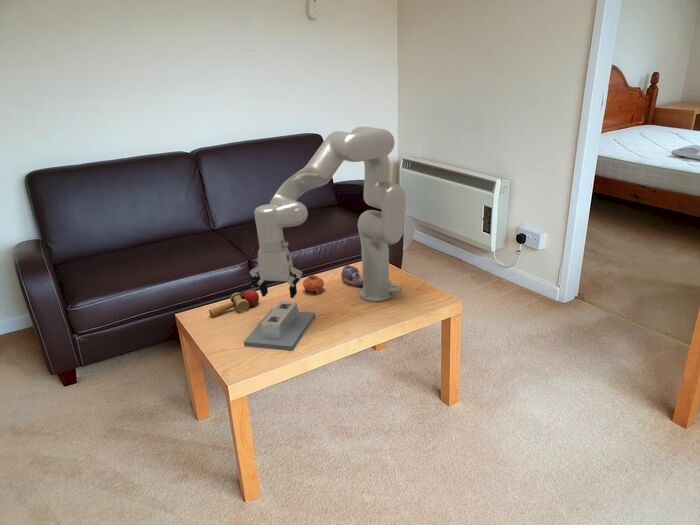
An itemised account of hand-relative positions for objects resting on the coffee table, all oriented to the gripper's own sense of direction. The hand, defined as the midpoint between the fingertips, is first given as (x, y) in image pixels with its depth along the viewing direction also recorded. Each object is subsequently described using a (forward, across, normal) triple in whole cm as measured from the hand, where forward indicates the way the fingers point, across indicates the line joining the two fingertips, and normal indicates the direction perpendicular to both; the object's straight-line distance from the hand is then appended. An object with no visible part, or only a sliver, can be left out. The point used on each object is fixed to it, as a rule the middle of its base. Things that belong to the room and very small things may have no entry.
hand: (279, 295), depth 164 cm
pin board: (+12, +1, +1) cm, 12 cm away
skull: (+14, -14, -39) cm, 43 cm away
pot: (+13, 0, -29) cm, 32 cm away
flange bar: (+11, 0, +1) cm, 11 cm away
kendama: (+13, +23, -10) cm, 28 cm away
